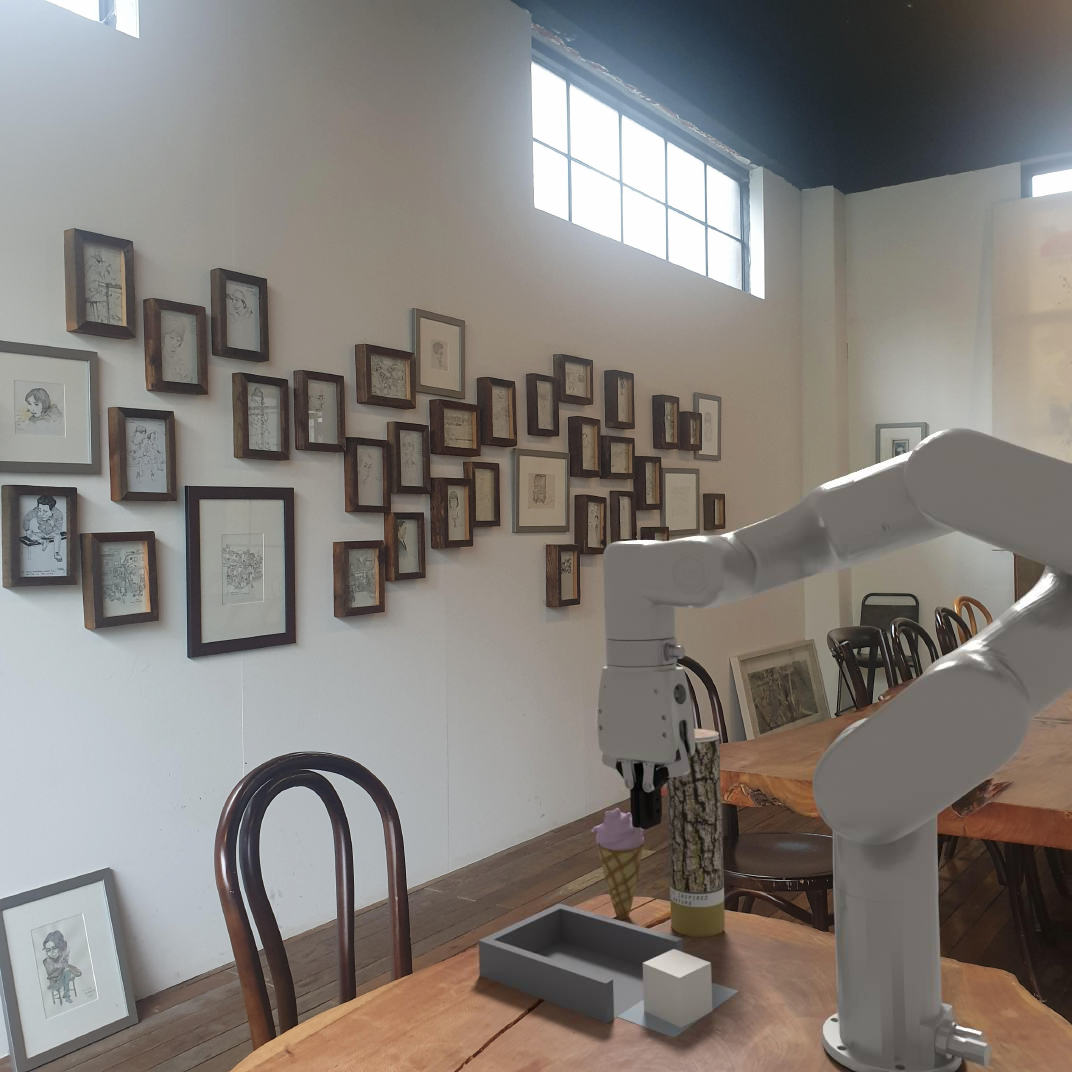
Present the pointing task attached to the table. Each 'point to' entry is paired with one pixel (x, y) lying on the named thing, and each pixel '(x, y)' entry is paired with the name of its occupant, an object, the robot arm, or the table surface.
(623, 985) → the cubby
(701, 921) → the paper tube
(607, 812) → the ice cream cone
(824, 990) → the table surface
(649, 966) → the cream block
